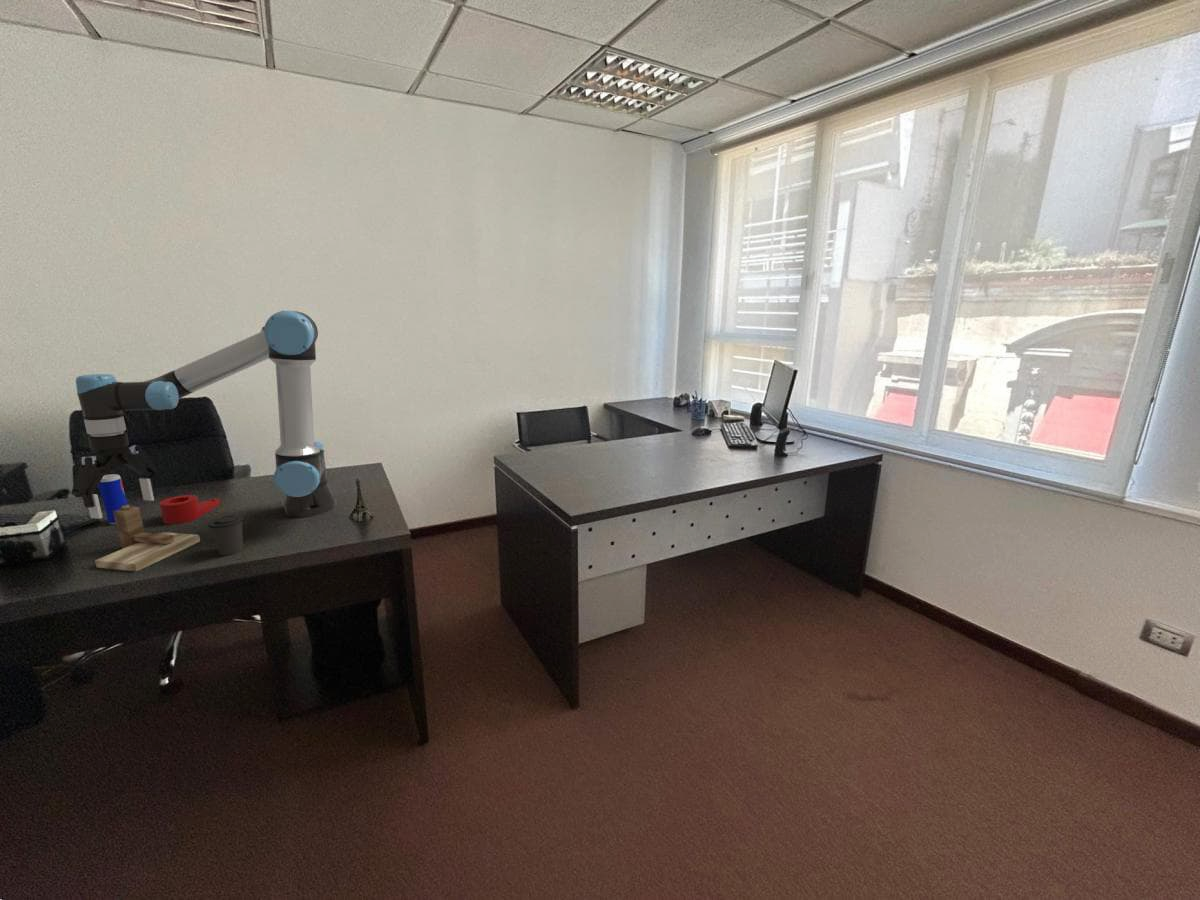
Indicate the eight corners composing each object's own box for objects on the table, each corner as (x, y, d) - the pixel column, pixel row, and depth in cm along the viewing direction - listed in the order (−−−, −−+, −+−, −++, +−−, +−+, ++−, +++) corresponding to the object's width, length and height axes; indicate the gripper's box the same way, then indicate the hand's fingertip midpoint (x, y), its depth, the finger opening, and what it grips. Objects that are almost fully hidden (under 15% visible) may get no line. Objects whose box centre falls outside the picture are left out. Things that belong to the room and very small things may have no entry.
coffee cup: (209, 560, 135) (202, 525, 132) (217, 547, 142) (211, 514, 139) (245, 555, 138) (239, 521, 135) (251, 543, 145) (246, 510, 142)
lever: (182, 526, 156) (177, 506, 154) (155, 524, 157) (151, 504, 155) (230, 505, 173) (227, 487, 171) (206, 503, 174) (203, 485, 173)
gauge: (178, 546, 141) (169, 506, 138) (164, 552, 138) (155, 511, 134) (137, 542, 143) (127, 502, 140) (122, 549, 139) (112, 508, 136)
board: (200, 541, 145) (198, 534, 145) (136, 571, 128) (134, 564, 128) (164, 538, 147) (162, 531, 147) (96, 567, 130) (94, 560, 129)
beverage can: (134, 520, 159) (123, 475, 155) (113, 526, 155) (102, 480, 151) (126, 517, 161) (115, 473, 158) (105, 523, 157) (93, 477, 153)
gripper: (143, 423, 145) (157, 492, 150) (38, 443, 121) (59, 524, 127) (165, 425, 144) (178, 494, 149) (64, 445, 120) (84, 527, 126)
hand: (124, 508), depth 138 cm, fingers open, 13 cm apart
